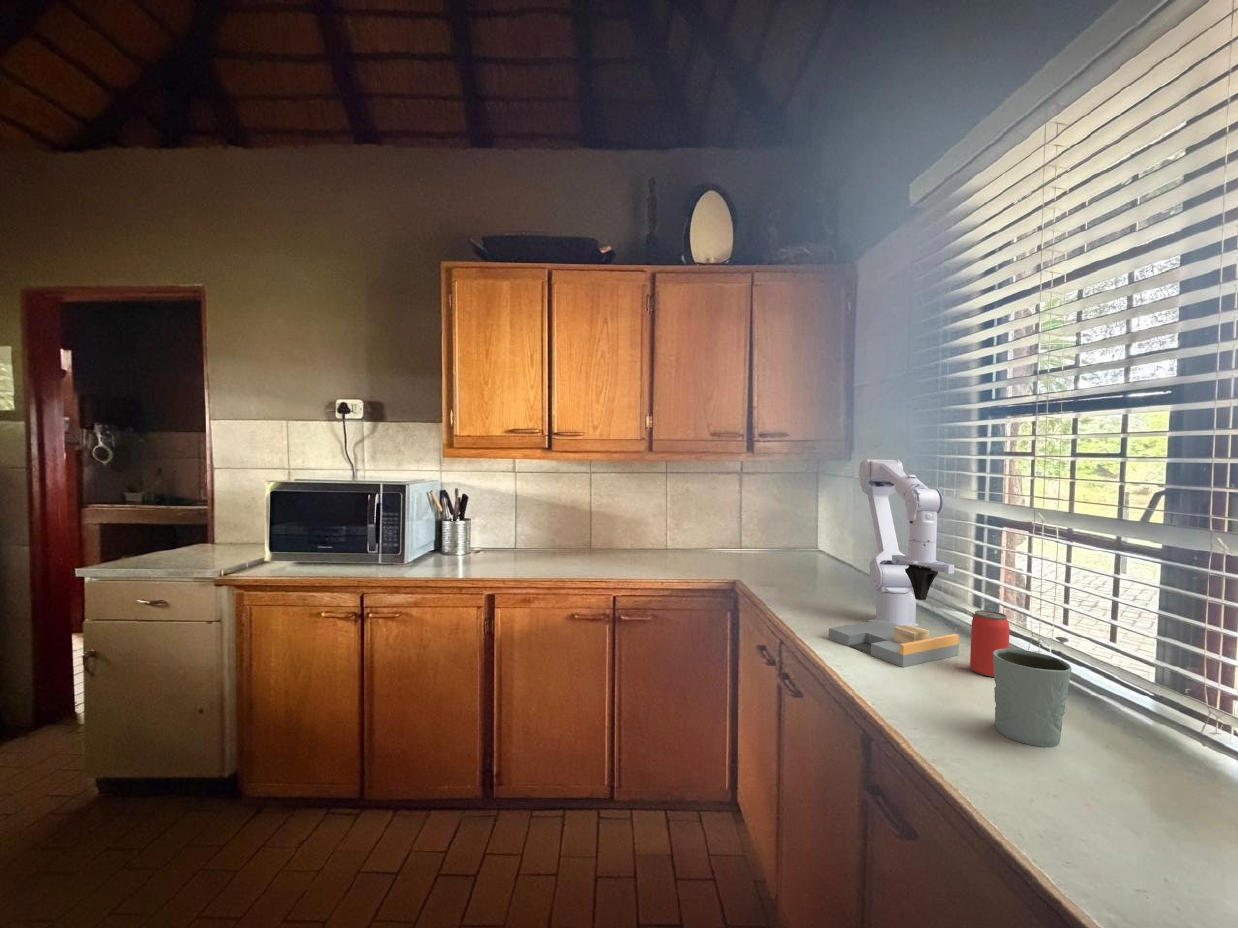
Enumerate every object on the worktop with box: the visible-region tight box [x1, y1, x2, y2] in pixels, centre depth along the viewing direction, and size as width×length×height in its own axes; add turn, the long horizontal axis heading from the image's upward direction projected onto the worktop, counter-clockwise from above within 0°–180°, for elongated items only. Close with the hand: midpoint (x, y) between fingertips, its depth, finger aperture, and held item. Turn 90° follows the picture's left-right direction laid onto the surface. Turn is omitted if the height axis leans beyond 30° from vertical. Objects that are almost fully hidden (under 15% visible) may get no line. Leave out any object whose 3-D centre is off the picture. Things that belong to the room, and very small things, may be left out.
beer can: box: [969, 609, 1011, 678], centre depth 121 cm, size 7×7×12 cm
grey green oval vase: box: [993, 648, 1073, 748], centre depth 94 cm, size 10×10×12 cm
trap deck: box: [828, 620, 960, 668], centre depth 135 cm, size 18×20×4 cm
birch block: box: [894, 625, 930, 644], centre depth 131 cm, size 5×5×3 cm
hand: (920, 599), depth 138 cm, fingers closed
